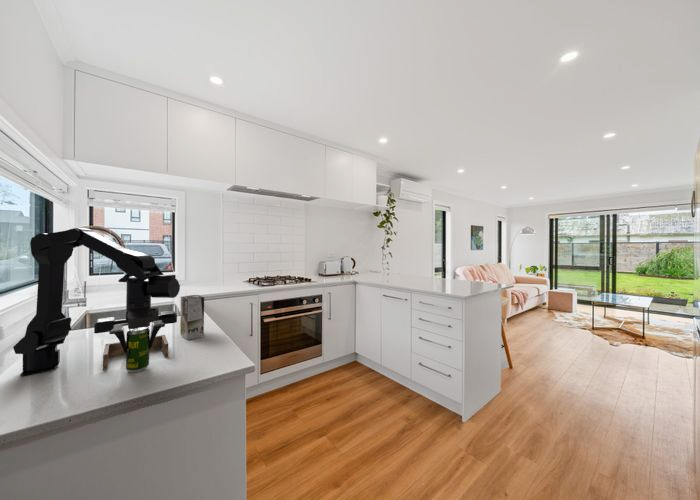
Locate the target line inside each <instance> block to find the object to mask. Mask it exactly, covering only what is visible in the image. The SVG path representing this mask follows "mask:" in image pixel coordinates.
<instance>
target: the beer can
mask: <svg viewBox="0 0 700 500" xmlns="http://www.w3.org/2000/svg"><path fill="white" fill-rule="evenodd" d="M149 327H150V326H148V327H140V328H135V329H129V328H127V332H126V335H125V340H126V355H125V358H126V359H125V369H126V371H127V372H128V373H137V372H141V371H144V370H146V369H147V368H148V367H149V365H150V351H149V342H150V333H151V329H150V328H149Z"/></svg>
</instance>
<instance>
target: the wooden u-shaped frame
mask: <svg viewBox="0 0 700 500" xmlns="http://www.w3.org/2000/svg"><path fill="white" fill-rule="evenodd" d="M155 350H161V351H162V355H163V357H164V358H168V357H169V342H168V340H167V336H166V335H165V334H161V335H156V337H155V339H154V342H153V344H152V347H151V348H149V352H150V351H155ZM121 356H126V353H124V350H123V348H122V346H121V343H120V341H119V342H112V343H106V344H105V345H104V349H103V354H102V370H103V371H104V370H108V368H109V361H110V359H111V358H116V357H121Z"/></svg>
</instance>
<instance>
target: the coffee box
mask: <svg viewBox="0 0 700 500" xmlns="http://www.w3.org/2000/svg"><path fill="white" fill-rule="evenodd" d="M204 326H205V297H204V296H202V295H199V294H191V295H185V296H180V330H179V331H180V336H181V337H183V338H184V339H185V340H187V341H188V340H193V339H194V340H195V339H198V338H203V337H204V335H205V333H204V332H205V330H204V329H205V327H204Z"/></svg>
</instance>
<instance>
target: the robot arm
mask: <svg viewBox="0 0 700 500" xmlns="http://www.w3.org/2000/svg"><path fill="white" fill-rule="evenodd" d="M29 243H30V254H31V257H33V259H34V260H35V262H37V264H38V278H37V293H36V312H35V315H34V317H32V319H31V320H30V322H28V324H27V326H26V329H25V333H24V334H25V335H24V336H23V337H22V338H21V339H20V340H18V342H17V343H15V345H14V346H13V347H12V349H13V351H14V354H15V355H22V372H21V373H20V375H19V376H20V377H23V376H24V377H25V376H30V375H34V374H35V375H36V374H40V373H45V372H50V371H54V370H56V368H57V366H58V365H60V363H61V349H59V348H58V346H59V345H62V344H64V342H65V340H66V338H67V336H68V335H70V334H69V332H70V331H72V328H71V325H72V317H69V316H68V317H67V316H66V315H65V314H64V313H63V311H62V308H63V296H64V295H63V293H64V292H63V291H64V277H65V265H66V263H67V262H68V260H69V259H70V258H71V257H72V255H73V251H74V249H75V248H78V247H81V246H84V247H86V248H88V249H90V250H92V251H94V252H95V253H97V254H99V255H101V256H102V257H105V258H106V259H109V260H111V261H112V262H114V264H115V265H116V267H117V268H118V269H119V270H120V271H122V272H123V273H125V274H124V276H123V277H121V278H119V279H118V282H119V283H126V297H125V299H126V301H125V302H126V303H125V304H126V305H125V308H126V309H125V319H124V318H123V319H115V317H114V316H112V317H103V318H98V319H97V320H95V323H94V326H93V327H94V328H93V330H94V331H93V334H101V333H109V335H115V337H116V338H117V340H118V341H119V342H120V343H121V346H122V348H123V350H124V353H126V333H125V326H127V329H135V328H140V327H148V326H149V327H150V326H151V328H150V342H149V348H151V347H152V344H153V342H154V339H155V337H156V336H158V332H159V331H160V330H161V328H164V327H166V325H168V324H169V325H170V324H176V323H178V314H177V313H176V311H174V310H167V311H159V307H154V308H153V307H152V304H151V303H152V298H154V299H155V298H157V299H160V298H161V299H164V298H165V299H166V298H167V299H175V298H176V297H177V296H178V295H179V293H180V289H181V285H180V282H179V280H178V279H177V278H176V274H167V275H166V274H164V273H163V271H162V270H161V269H160V267H159V266H158V265H157V263H156V260H155V258H154V257H153V256H152V255H150V254H148V253H144V252H140V251H136V250H131V249H128V248H126V247H124V246H122V245H120V244H118V243H116V242H114V241H113V240H110V239H108V238H106V237H104V236H102V235H100V234H98V233H96V232H95V231H94V230H92V229H90V228H84V227H83V228H81V227H74V228H70V229H67V230H62V231H54V232H49V233H45V232H43V233H37V234H36V235H35V236H33V237H31V239H30V242H29ZM159 312H160V313H159Z"/></svg>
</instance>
